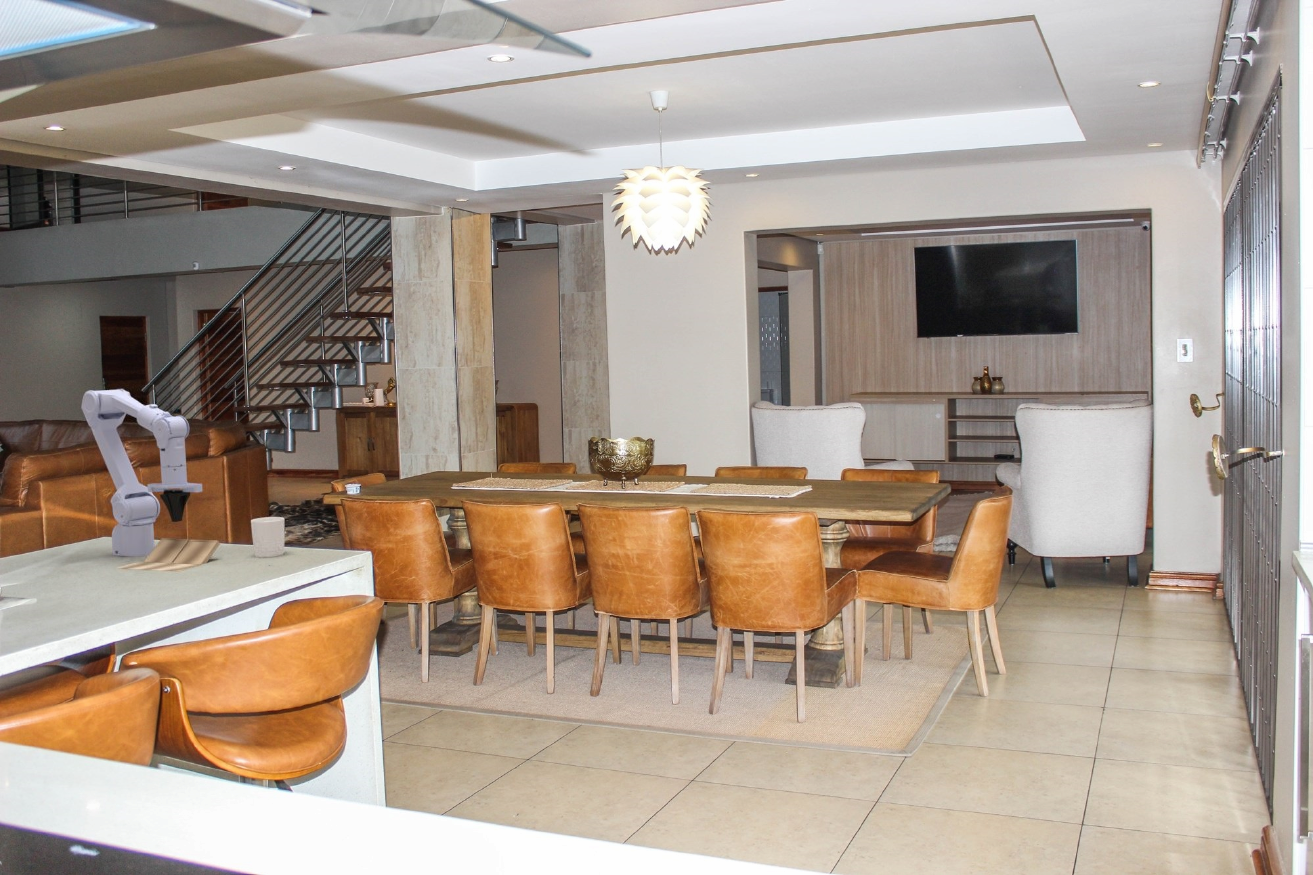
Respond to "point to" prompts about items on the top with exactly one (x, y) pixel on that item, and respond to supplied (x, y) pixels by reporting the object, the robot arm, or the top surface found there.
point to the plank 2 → (197, 552)
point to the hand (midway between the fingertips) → (177, 521)
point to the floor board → (158, 566)
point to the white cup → (268, 536)
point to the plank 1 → (167, 550)
